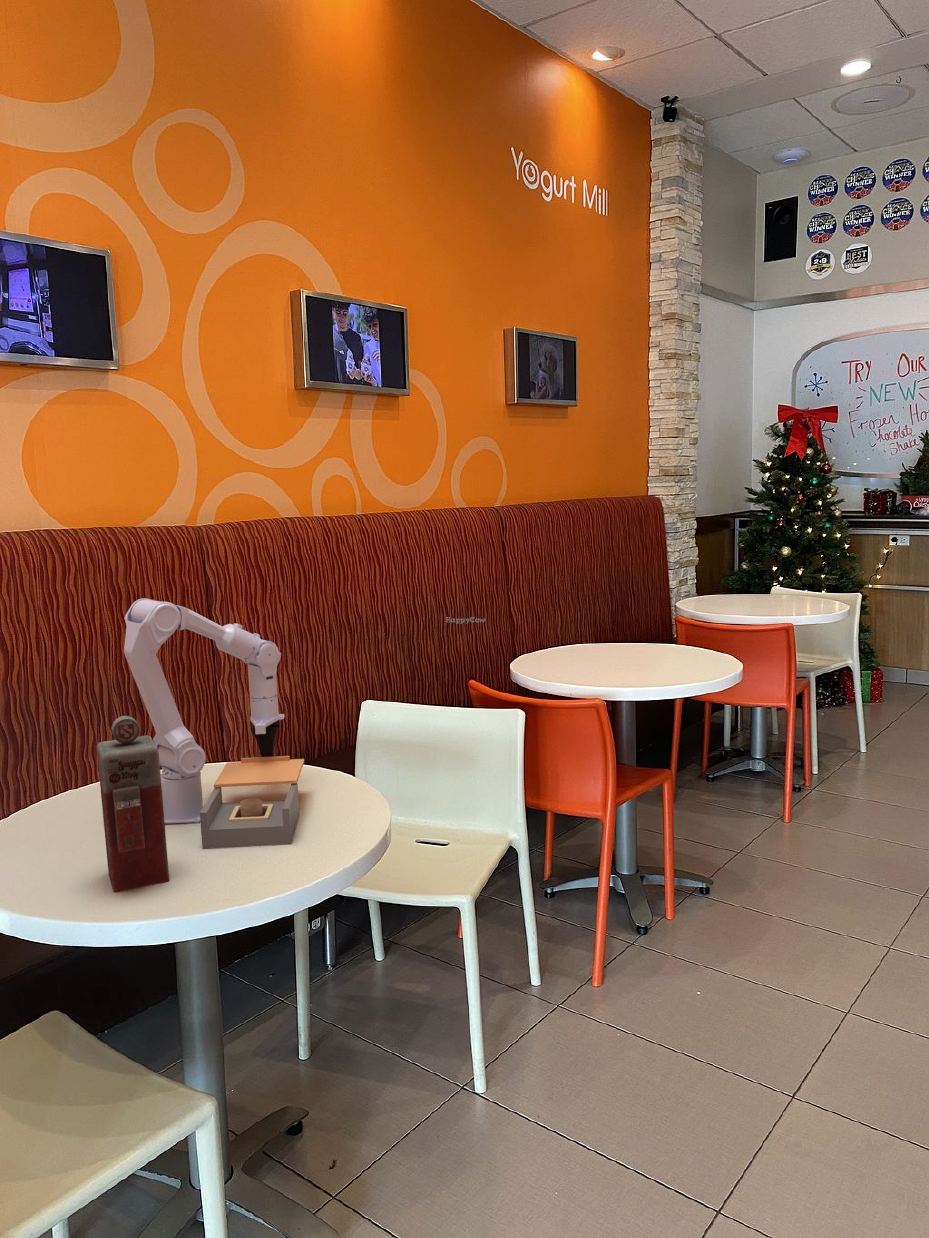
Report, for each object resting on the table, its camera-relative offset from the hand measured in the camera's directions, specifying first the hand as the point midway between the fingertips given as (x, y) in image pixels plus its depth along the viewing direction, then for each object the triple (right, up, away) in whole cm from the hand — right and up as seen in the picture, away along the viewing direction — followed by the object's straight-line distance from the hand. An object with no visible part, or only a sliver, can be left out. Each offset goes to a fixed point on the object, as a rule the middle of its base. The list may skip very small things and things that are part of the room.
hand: (267, 757), depth 199 cm
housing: (+2, -11, -21) cm, 24 cm away
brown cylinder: (+2, -11, -21) cm, 24 cm away
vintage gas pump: (-13, -15, -41) cm, 45 cm away
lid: (+1, -2, -10) cm, 10 cm away
